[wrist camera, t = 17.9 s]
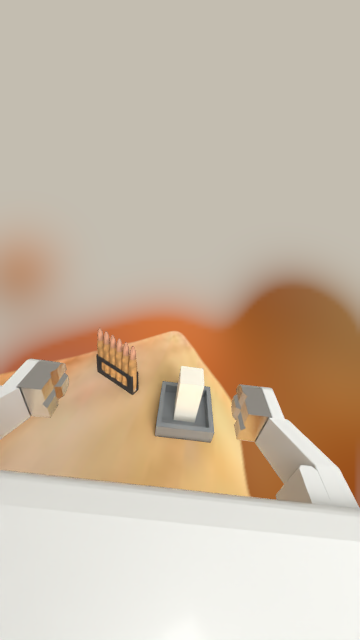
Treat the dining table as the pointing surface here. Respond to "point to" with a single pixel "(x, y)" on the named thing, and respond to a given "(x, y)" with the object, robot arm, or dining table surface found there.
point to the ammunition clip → (117, 362)
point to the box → (183, 429)
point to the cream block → (188, 394)
